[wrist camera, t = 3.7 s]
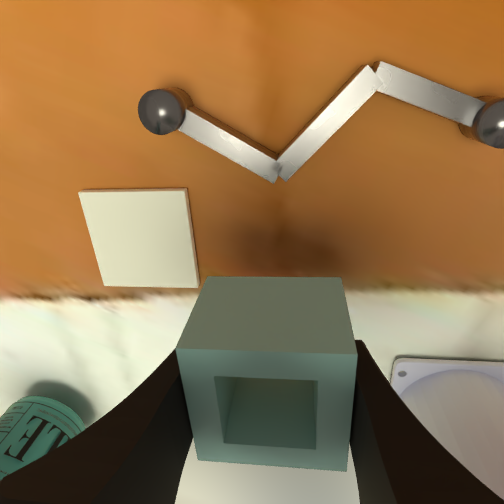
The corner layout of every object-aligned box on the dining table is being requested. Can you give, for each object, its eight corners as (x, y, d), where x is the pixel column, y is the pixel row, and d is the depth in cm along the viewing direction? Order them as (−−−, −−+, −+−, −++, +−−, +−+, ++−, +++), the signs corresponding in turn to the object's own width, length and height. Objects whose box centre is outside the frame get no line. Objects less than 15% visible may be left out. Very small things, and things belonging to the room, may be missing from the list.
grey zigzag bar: (488, 171, 17) (516, 186, 15) (169, 178, 19) (152, 191, 17) (517, 53, 15) (554, 50, 12) (153, 75, 17) (131, 75, 14)
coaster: (199, 283, 22) (197, 287, 21) (108, 281, 22) (104, 285, 22) (186, 188, 19) (184, 190, 18) (83, 189, 20) (78, 192, 19)
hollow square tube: (335, 378, 15) (346, 471, 12) (220, 373, 16) (197, 460, 12) (341, 277, 13) (357, 354, 9) (207, 276, 14) (175, 348, 10)
